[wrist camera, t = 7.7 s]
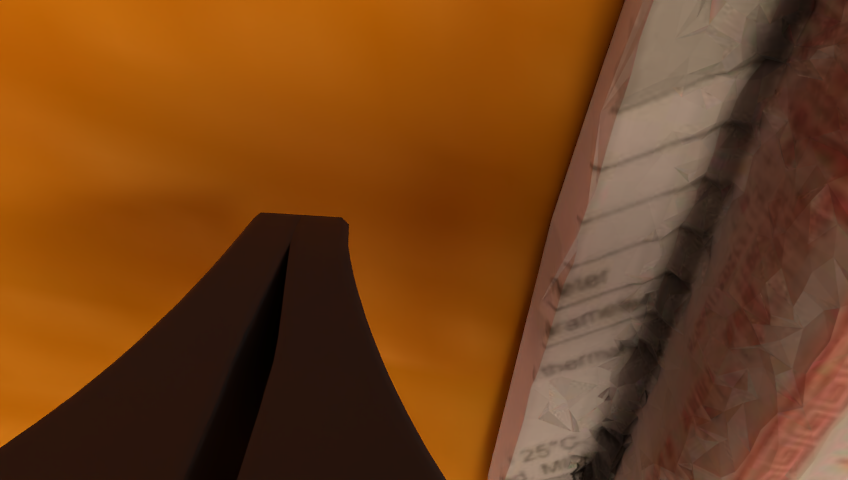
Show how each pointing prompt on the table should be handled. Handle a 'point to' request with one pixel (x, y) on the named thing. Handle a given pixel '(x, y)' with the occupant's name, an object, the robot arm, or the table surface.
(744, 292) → the packaged product
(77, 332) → the table surface
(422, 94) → the table surface
